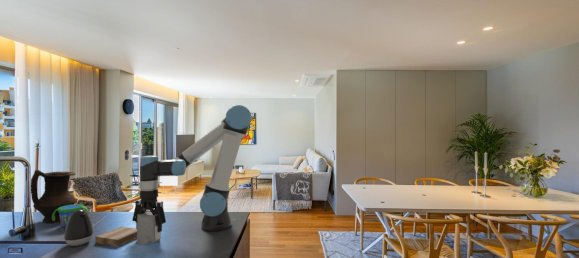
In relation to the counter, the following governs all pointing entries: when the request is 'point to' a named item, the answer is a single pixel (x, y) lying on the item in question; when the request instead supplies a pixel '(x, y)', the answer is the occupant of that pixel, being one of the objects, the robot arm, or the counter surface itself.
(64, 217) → the snack cup
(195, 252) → the counter surface
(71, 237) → the egg shaped speaker
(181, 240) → the counter surface
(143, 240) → the white canister
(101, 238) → the pedestal
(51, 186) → the jug
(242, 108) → the robot arm
